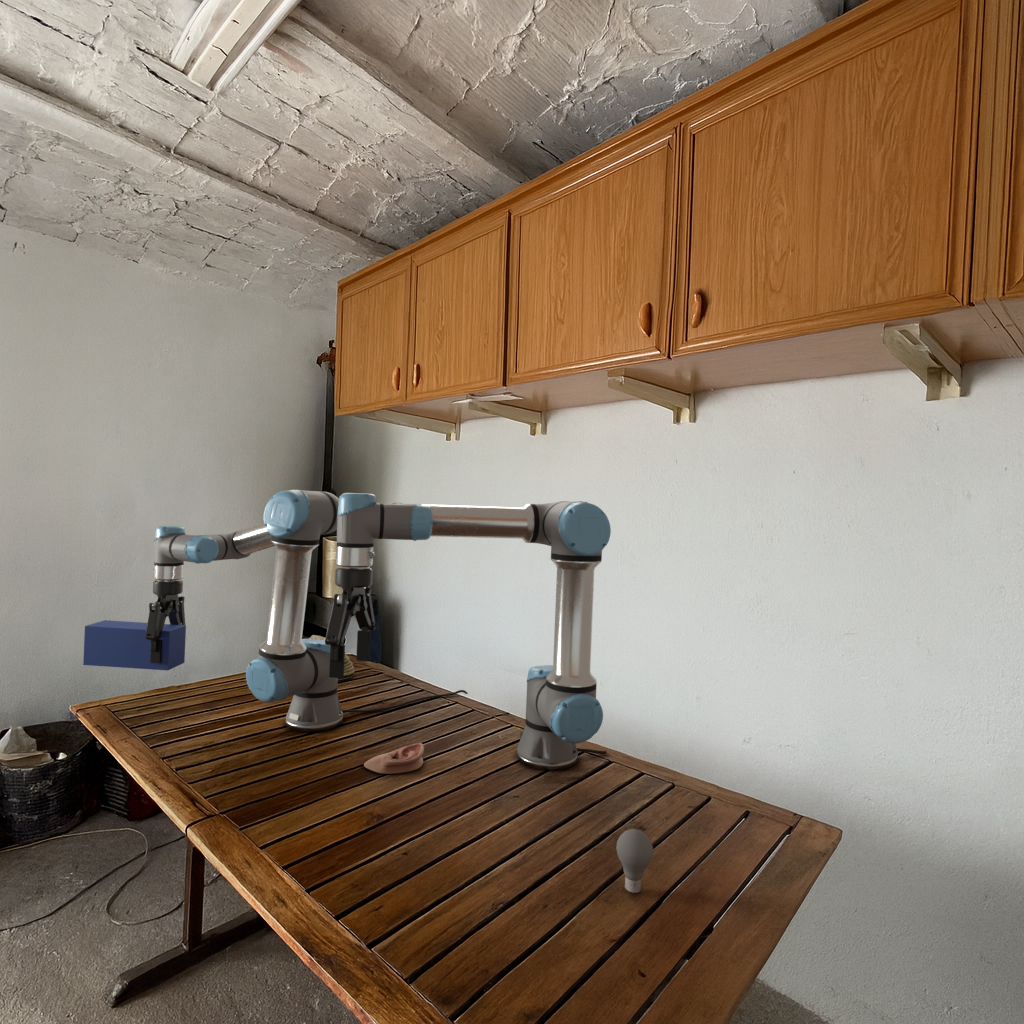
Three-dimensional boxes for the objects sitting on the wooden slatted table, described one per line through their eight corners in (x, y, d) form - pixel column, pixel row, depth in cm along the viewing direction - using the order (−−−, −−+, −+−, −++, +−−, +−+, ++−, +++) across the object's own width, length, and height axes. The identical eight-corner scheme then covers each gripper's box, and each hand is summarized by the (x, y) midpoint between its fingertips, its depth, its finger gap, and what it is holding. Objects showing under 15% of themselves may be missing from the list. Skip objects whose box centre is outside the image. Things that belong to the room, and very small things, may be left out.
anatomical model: (358, 753, 147) (378, 735, 158) (357, 770, 147) (378, 751, 158) (412, 760, 144) (429, 742, 155) (412, 778, 144) (428, 758, 155)
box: (184, 662, 186) (186, 625, 186) (167, 670, 177) (169, 631, 177) (103, 657, 187) (105, 620, 186) (83, 665, 178) (84, 625, 178)
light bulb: (610, 879, 108) (613, 822, 108) (644, 879, 109) (647, 822, 109) (619, 902, 102) (622, 840, 102) (655, 901, 103) (658, 840, 103)
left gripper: (176, 574, 192) (173, 649, 192) (132, 584, 171) (128, 667, 171) (200, 576, 192) (197, 650, 192) (159, 585, 170) (156, 669, 171)
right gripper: (346, 574, 119) (342, 687, 119) (391, 562, 143) (388, 655, 144) (309, 572, 120) (305, 683, 120) (360, 560, 145) (356, 653, 145)
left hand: (165, 658), depth 182 cm, fingers closed on box, 8 cm apart
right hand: (350, 668), depth 132 cm, fingers open, 13 cm apart
